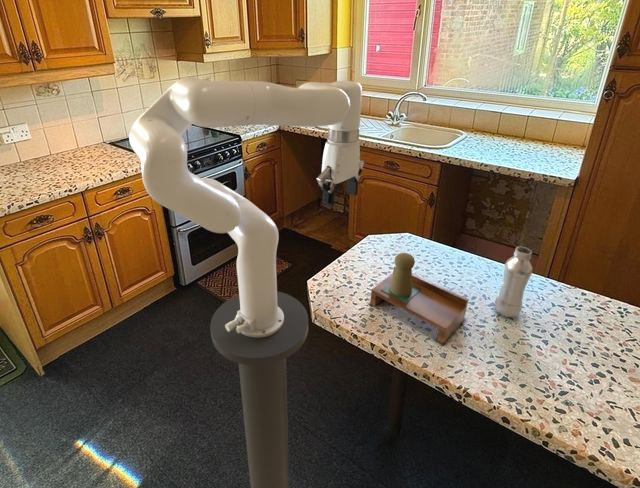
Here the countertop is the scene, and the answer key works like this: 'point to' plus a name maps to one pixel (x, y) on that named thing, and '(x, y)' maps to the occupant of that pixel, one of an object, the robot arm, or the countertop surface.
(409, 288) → the cork
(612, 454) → the countertop surface
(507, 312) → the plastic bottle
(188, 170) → the robot arm
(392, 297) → the wooden shelf
